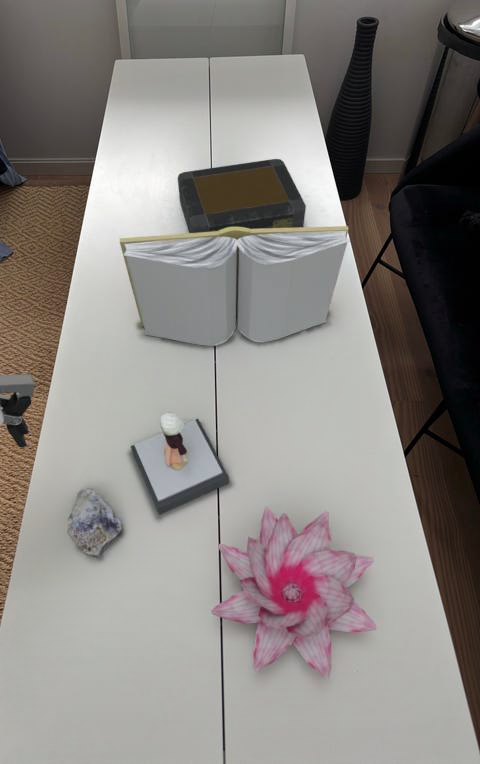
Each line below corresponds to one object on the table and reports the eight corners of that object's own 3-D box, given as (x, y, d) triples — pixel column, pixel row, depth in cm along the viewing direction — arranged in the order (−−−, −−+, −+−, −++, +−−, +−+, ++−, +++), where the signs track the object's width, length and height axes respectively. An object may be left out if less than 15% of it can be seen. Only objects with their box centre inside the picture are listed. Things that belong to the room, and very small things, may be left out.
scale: (159, 515, 85) (156, 507, 82) (132, 453, 91) (129, 444, 89) (228, 483, 88) (228, 475, 85) (198, 425, 94) (197, 416, 92)
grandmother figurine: (153, 450, 88) (142, 408, 78) (172, 437, 89) (164, 393, 79) (181, 484, 85) (174, 445, 74) (201, 469, 86) (196, 429, 76)
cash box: (279, 183, 134) (281, 154, 127) (305, 237, 122) (308, 208, 116) (178, 198, 130) (175, 169, 124) (195, 255, 119) (193, 226, 112)
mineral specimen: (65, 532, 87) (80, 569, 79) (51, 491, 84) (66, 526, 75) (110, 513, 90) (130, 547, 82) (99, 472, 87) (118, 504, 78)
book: (324, 307, 110) (346, 219, 88) (330, 340, 106) (355, 257, 84) (142, 319, 108) (119, 233, 86) (142, 353, 105) (118, 272, 83)
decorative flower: (357, 529, 84) (378, 488, 71) (373, 688, 71) (402, 671, 59) (217, 525, 84) (214, 484, 72) (209, 683, 72) (204, 666, 59)
